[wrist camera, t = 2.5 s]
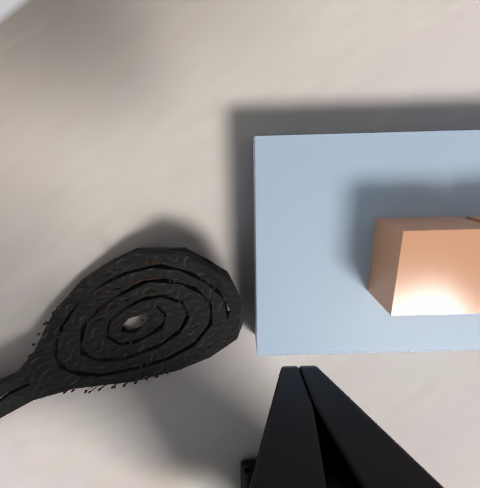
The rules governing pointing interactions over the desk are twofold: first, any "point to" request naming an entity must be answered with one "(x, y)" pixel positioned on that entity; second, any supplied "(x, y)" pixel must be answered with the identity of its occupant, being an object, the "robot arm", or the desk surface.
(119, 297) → the black spiral-grooved part
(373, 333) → the board
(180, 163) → the desk surface
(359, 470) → the robot arm
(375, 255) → the tile
